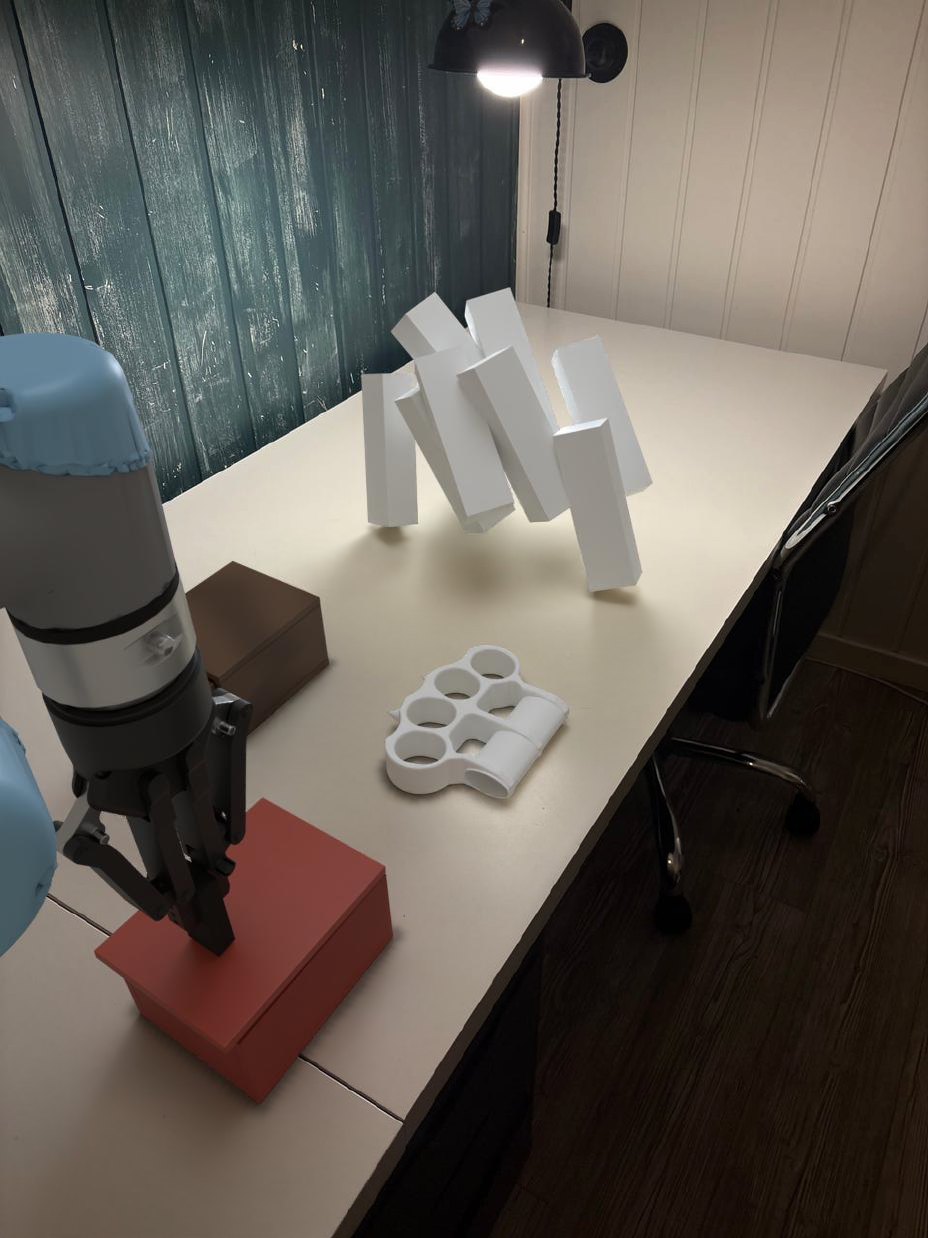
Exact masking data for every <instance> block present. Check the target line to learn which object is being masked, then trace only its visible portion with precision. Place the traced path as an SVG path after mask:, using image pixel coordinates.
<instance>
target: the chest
mask: <svg viewBox="0 0 928 1238" xmlns="http://www.w3.org/2000/svg"><path fill="white" fill-rule="evenodd" d="M386 873H387V872H386ZM386 873H385V875H384V876H383V877H382V878H381V879H380V880H379V881H378V883H377V884H376V885H375V886H374V887H373V888H372V889H371V891H370V892H369V893H368V894H367V895H366V896H365V897H364V898H363V900H362V901H361V902H360V903H359V904H358V905H357V906H356V908H355V909H354V910H353V911H352V912H351V913H350V914H349V916H348V917H347V918H346V919H345V920H344V921H343V922H342V923H341V925H340V926H339V927H338V928H337V929H336V930H335V931H334V933H333V934H332V935H331V936H330V937H329V938H328V939H327V941H326V942H325V943H324V944H323V945H322V946H321V947H320V949H319V950H318V951H317V952H316V953H315V954H314V955H313V956H312V958H311V959H310V960H309V961H308V962H307V963H306V964H305V966H304V967H303V968H302V969H301V970H300V971H299V972H298V974H297V975H296V976H295V977H294V978H293V979H292V980H291V981H290V983H289V984H288V985H287V986H286V987H285V988H284V989H283V991H282V992H281V993H280V994H279V995H278V996H277V997H276V999H275V1000H274V1001H273V1002H272V1003H271V1004H270V1005H269V1006H268V1008H267V1009H266V1010H265V1011H264V1012H263V1013H262V1014H261V1016H260V1017H259V1018H258V1019H257V1020H256V1021H255V1022H254V1024H253V1025H252V1026H251V1027H250V1028H249V1029H248V1030H247V1031H246V1033H245V1034H244V1035H243V1036H242V1037H241V1038H240V1039H239V1041H238V1042H237V1043H236V1044H235V1045H234V1046H233V1047H232V1049H231V1050H230V1051H229V1052H228V1053H227V1054H225V1053H223V1052H222V1051H221V1050H219V1049H218V1048H217V1047H215V1046H214V1045H213V1044H211V1043H210V1042H209V1041H207V1040H206V1039H205V1038H203V1037H202V1036H201V1035H199V1034H198V1033H196V1032H195V1031H194V1030H192V1029H191V1028H190V1027H188V1026H187V1025H186V1024H184V1023H183V1022H182V1021H180V1020H179V1019H178V1018H176V1017H175V1016H174V1015H172V1014H171V1013H170V1012H168V1011H167V1010H166V1009H164V1008H163V1007H162V1006H160V1005H159V1004H158V1003H156V1002H155V1001H154V1000H152V999H151V998H149V997H148V996H147V995H145V994H144V993H143V992H141V991H140V990H139V989H137V988H136V987H135V986H133V985H132V984H131V983H129V982H128V981H127V980H125V979H124V978H123V980H124V982H125V985H126V987H127V989H128V991H129V993H130V995H131V997H132V999H133V1001H134V1004H135V1006H136V1008H137V1010H138V1012H139V1013H140V1014H141V1015H142V1016H144V1017H145V1018H146V1019H147V1020H149V1021H150V1022H152V1023H153V1024H154V1025H155V1026H157V1027H158V1028H160V1030H162V1031H163V1032H165V1033H166V1034H167V1035H169V1037H171V1038H172V1039H174V1040H175V1041H176V1042H178V1043H179V1044H181V1045H182V1046H183V1047H184V1048H186V1049H187V1050H188V1051H190V1052H191V1053H193V1054H194V1055H195V1056H196V1057H197V1058H199V1059H200V1060H201V1061H203V1062H204V1063H205V1064H207V1065H208V1066H209V1067H210V1068H212V1069H213V1070H215V1071H216V1072H217V1073H218V1074H220V1075H221V1076H223V1077H224V1078H225V1079H226V1080H228V1081H230V1083H231V1084H233V1085H235V1086H236V1087H237V1088H238V1089H239V1090H241V1091H243V1092H244V1094H246V1095H247V1096H249V1097H250V1098H252V1099H253V1100H254V1101H255V1102H257V1103H258V1104H262V1102H263V1101H264V1100H265V1098H266V1097H267V1096H268V1095H269V1093H271V1091H272V1090H273V1088H275V1086H276V1084H277V1083H278V1082H279V1081H280V1079H281V1078H282V1077H283V1076H284V1074H286V1072H287V1071H288V1070H289V1068H290V1067H291V1066H292V1065H293V1064H294V1062H295V1061H296V1059H297V1058H298V1057H299V1056H300V1055H301V1053H302V1052H303V1050H304V1049H305V1048H306V1047H307V1045H308V1044H310V1041H311V1040H312V1039H313V1038H314V1037H315V1035H316V1034H317V1033H318V1031H319V1030H320V1029H321V1028H322V1026H323V1025H324V1024H325V1023H326V1021H327V1020H328V1019H329V1018H330V1017H331V1015H332V1014H333V1013H334V1011H335V1010H336V1009H337V1008H338V1006H339V1005H340V1004H341V1003H342V1001H343V1000H344V999H345V997H346V996H347V995H348V994H349V993H350V991H351V990H352V989H353V987H354V986H355V985H356V984H357V983H358V981H359V980H360V979H361V978H362V976H363V975H364V973H365V972H366V971H367V969H368V968H369V967H370V966H371V965H372V963H373V962H374V961H375V960H376V958H377V957H378V955H379V954H380V953H381V952H382V951H383V949H384V948H385V947H386V946H387V945H388V944H389V942H390V941H391V939H392V938H393V937H394V934H393V933H394V931H393V923H392V913H391V905H390V897H389V887H388V880H387V879H388V878H387V874H386Z"/></svg>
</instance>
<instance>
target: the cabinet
mask: <svg viewBox="0 0 928 1238" xmlns="http://www.w3.org/2000/svg"><path fill="white" fill-rule="evenodd" d="M185 595H186V599H187V603H188V607H189V611H190V615H191V619H192V623H193V627H194V631H195V634H196V643H197V645H198V646H199V649H200V651H201V655H202V659H203V663H204V666H205V670H206V674H207V678H209V679H211V680H213V681H214V683H215V687H216V689H217V688H221V689H223V690H225V691H227V692H229V693H231V694H233V695H235V696H237V697H239V698H241V699H243V700H245V701H247V702H249V703H251V704H252V705H253V706H254V712H253V716H252V720H251V723H250V727H249V731H248V734H247V736H249V734H251V733H252V732H253V731H254V730H255V729H256V728H257V727H259V726H261V724H262V723H263V722H264V721H266V720H267V719H269V717H270V716H271V715H273V714H274V713H275V712H276V711H277V710H278V709H280V708H281V707H282V706H283V705H284V704H285V703H286V702H288V700H290V699H291V698H292V697H293V696H294V695H296V693H298V692H299V691H300V690H301V689H302V688H304V687H305V686H306V685H307V684H308V683H309V682H310V681H311V680H312V679H314V678H315V677H316V676H317V675H319V673H321V671H323V670H324V669H325V668H326V667H327V666H328V665H330V661H329V653H328V646H327V639H326V631H325V626H324V618H323V612H322V611H323V610H322V605H321V604H322V603H321V597H320V596H318V595H316V594H314V593H311V592H309V591H306V590H304V589H302V588H300V587H297V586H295V585H292V584H289V583H287V582H285V581H282V580H281V579H278V578H275V577H273V576H271V575H268V574H266V573H263V572H261V571H258V570H256V569H254V568H252V567H249V566H246V565H245V564H242V563H240V562H237V561H235V560H231V561H230V562H229V563H226V564H225V565H224V566H223V567H221V568H220V569H219V570H216V571H215V572H214V573H213V574H210V575H209V576H208V577H206V578H205V579H204V580H202V581H201V582H199V583H197V584H196V585H195V586H193V587H192V588H190V589H189V590H188V591H186V592H185Z"/></svg>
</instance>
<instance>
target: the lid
mask: <svg viewBox="0 0 928 1238" xmlns="http://www.w3.org/2000/svg"><path fill="white" fill-rule="evenodd" d="M226 856H227V857H228V858H230V859H232V860H233V861H235V862H236V866H235V869H234V871H233V873H232V874H231V875H230V876H229V877H228V880H229V883H230V890H229V893H228V894H227V895H226V896H225V897H224V898H223V900H224V903H225V907H226V910H227V913H228V916H229V920H230V923H231V926H232V930H233V933H234V936H235V940H234V941H233V942H232V943H231V944H230V945H229V947H228V948H227V949H226V950H225V951H224V952H223V953H222V954H221V955H220V956H219V957H218V956H217V955H216V954H214V953H213V952H211V951H210V950H208V949H207V948H205V947H204V946H202V945H201V944H199V943H198V942H197V941H195V940H194V939H192V938H191V937H189V936H188V933H187V931H185V930H183V929H182V928H180V927H179V926H178V925H176V924H175V923H173V922H172V921H170V920H169V918H168V914H167V915H166V916H165V917H164V918H163V919H161V920H160V921H154V920H153V919H151V918H150V917H148V916H147V915H146V914H144V913H143V912H141V911H140V910H138V909H137V911H136V912H135V913H134V914H133V915H131V916H130V917H129V918H128V919H127V920H126V921H125V922H124V923H123V924H121V925H120V926H119V927H118V928H117V929H116V930H115V931H114V932H112V934H110V935H109V936H108V937H107V938H106V939H105V940H104V941H102V943H100V944H99V945H98V946H97V947H96V948H95V949H94V950H93V953H94V956H95V958H96V959H97V960H99V961H100V962H101V963H102V964H103V965H105V966H106V967H108V968H109V969H110V970H112V971H113V972H114V973H116V974H117V975H118V976H120V977H121V978H123V980H124V979H125V980H127V981H128V982H129V983H131V984H132V985H133V986H135V987H136V988H137V989H139V990H140V991H141V992H143V993H144V994H145V995H147V996H148V997H149V998H151V999H152V1000H154V1001H155V1002H156V1003H158V1004H159V1005H160V1006H162V1007H163V1008H164V1009H166V1010H167V1011H168V1012H170V1013H171V1014H172V1015H174V1016H175V1017H176V1018H178V1019H179V1020H180V1021H182V1022H183V1023H184V1024H186V1025H187V1026H188V1027H190V1028H191V1029H192V1030H194V1031H195V1032H196V1033H198V1034H199V1035H201V1036H202V1037H203V1038H205V1039H206V1040H207V1041H209V1042H210V1043H211V1044H213V1045H214V1046H215V1047H217V1048H218V1049H219V1050H221V1051H222V1052H223V1053H225V1054H227V1053H228V1052H229V1051H230V1050H231V1049H232V1047H233V1046H234V1045H235V1044H236V1043H237V1042H238V1041H239V1039H240V1038H241V1037H242V1036H243V1035H244V1034H245V1033H246V1031H247V1030H248V1029H249V1028H250V1027H251V1026H252V1025H253V1024H254V1022H255V1021H256V1020H257V1019H258V1018H259V1017H260V1016H261V1014H262V1013H263V1012H264V1011H265V1010H266V1009H267V1008H268V1006H269V1005H270V1004H271V1003H272V1002H273V1001H274V1000H275V999H276V997H277V996H278V995H279V994H280V993H281V992H282V991H283V989H284V988H285V987H286V986H287V985H288V984H289V983H290V981H291V980H292V979H293V978H294V977H295V976H296V975H297V974H298V972H299V971H300V970H301V969H302V968H303V967H304V966H305V964H306V963H307V962H308V961H309V960H310V959H311V958H312V956H313V955H314V954H315V953H316V952H317V951H318V950H319V949H320V947H321V946H322V945H323V944H324V943H325V942H326V941H327V939H328V938H329V937H330V936H331V935H332V934H333V933H334V931H335V930H336V929H337V928H338V927H339V926H340V925H341V923H342V922H343V921H344V920H345V919H346V918H347V917H348V916H349V914H350V913H351V912H352V911H353V910H354V909H355V908H356V906H357V905H358V904H359V903H360V902H361V901H362V900H363V898H364V897H365V896H366V895H367V894H368V893H369V892H370V891H371V889H372V888H373V887H374V886H375V885H376V884H377V883H378V881H379V880H380V879H381V878H382V877H383V876H384V875H385V873H387V869H386V866H385V865H384V864H382V863H380V862H379V861H377V860H376V859H374V858H372V857H370V856H368V855H367V854H364V852H363V853H362V852H361V851H359V850H357V849H356V848H354V847H352V846H350V845H349V844H347V843H345V842H343V841H341V840H339V839H338V838H336V837H335V836H334V835H333V836H332V835H331V834H330V833H327V832H325V831H324V830H322V829H320V828H319V827H316V826H315V825H313V824H311V823H310V822H308V821H306V820H304V819H303V818H300V817H299V816H297V815H296V814H294V813H292V812H290V811H288V810H286V809H285V808H283V807H281V806H279V805H277V804H275V803H274V802H272V801H271V800H268V799H267V798H265V797H261V798H260V799H259V800H258V801H256V802H255V804H254V805H252V806H251V807H250V808H249V809H247V810H246V832H245V836H244V838H243V840H242V841H241V842H240V843H239V844H237V845H232V844H231V845H230V846H229V848H228V849H227V851H226ZM125 980H124V981H125Z"/></svg>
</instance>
